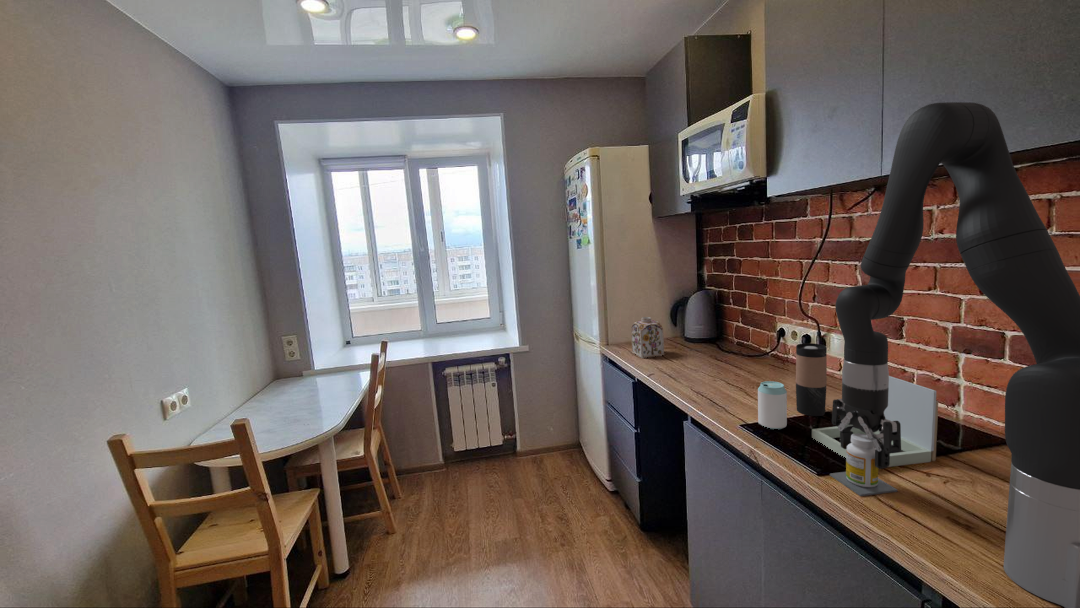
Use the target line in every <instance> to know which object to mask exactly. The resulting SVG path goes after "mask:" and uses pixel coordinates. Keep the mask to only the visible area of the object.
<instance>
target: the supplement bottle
mask: <svg viewBox="0 0 1080 608" xmlns="http://www.w3.org/2000/svg"><path fill="white" fill-rule="evenodd" d="M875 450H876V448H875V446H874V444H873V442H872V440H870V439H869V438H868V437H867V435H866V434H852V435H851V443H850V444H848V445H847V450H846V459H845V468H846V469H845V472H846V478H847V480H848V481H850V482H851V483H853V484H855V485H858V486H861V487H875V486H877V485H878V478H879V468H877V467H875Z"/></svg>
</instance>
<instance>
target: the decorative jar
mask: <svg viewBox="0 0 1080 608" xmlns="http://www.w3.org/2000/svg"><path fill="white" fill-rule="evenodd" d="M630 327H631V329H630V331H631V333H630V334H631V350H632V351H631V352H632V354H633V355H635V354H636V356H637V357H638V358H641V359H647V357H648V358H654V357H655V356H656V357H663V356H662V355H664V356H665V341H664V340H665V339H664V328H663V326H662V324H661V323H660V321H657V320H654V319H652V317H649V316H644V317H643V316H642V317H641V318H640V320H637V321H635V322H633V324H632V325H631V326H630Z"/></svg>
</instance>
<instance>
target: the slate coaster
mask: <svg viewBox="0 0 1080 608" xmlns="http://www.w3.org/2000/svg"><path fill="white" fill-rule="evenodd" d="M829 476H830V477H832V478H833V479H835V480H836V481H837V482H839V483H840V484H842V485H843V486H844V487H846V488H847V489H849V490H850V491H852V492H853V493H855V494H856V495H858V496H859V497H863V496H864V497H866V496H872V495H873V496H874V495H881V494H890V493H896V492H898V489H897V488H896V487H894V486H893V485H890V484H889V483H887V482H885V480H882V479H880V478H879V477H878V485H877V486H875V487H861V486H858V485H855V484H853V483H851V482H850V481H848V480H847V478H846V471H840V472H833V473H829Z"/></svg>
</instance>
